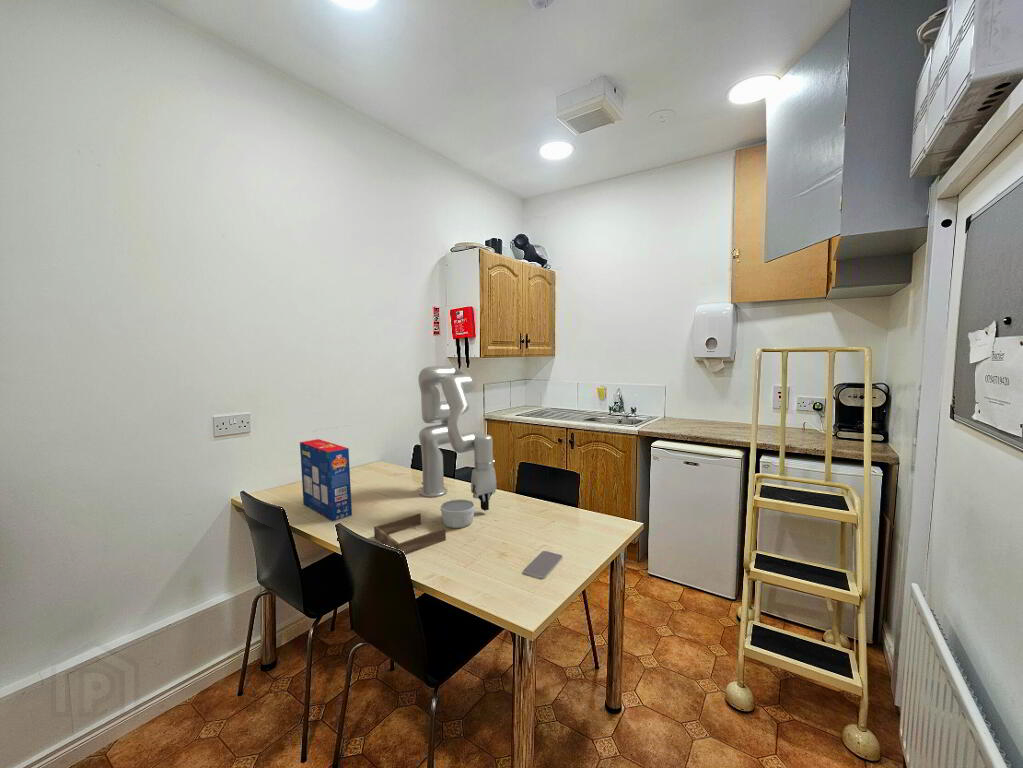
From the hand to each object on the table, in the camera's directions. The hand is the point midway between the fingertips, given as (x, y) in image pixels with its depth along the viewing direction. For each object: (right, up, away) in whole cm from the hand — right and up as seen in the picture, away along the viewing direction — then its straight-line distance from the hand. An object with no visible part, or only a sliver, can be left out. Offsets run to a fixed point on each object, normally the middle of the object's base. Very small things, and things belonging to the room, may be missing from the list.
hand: (484, 509), depth 168 cm
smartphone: (+21, -5, -41) cm, 46 cm away
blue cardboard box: (-68, -2, +7) cm, 68 cm away
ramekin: (-10, -3, -8) cm, 13 cm away
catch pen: (-25, -4, -21) cm, 33 cm away
